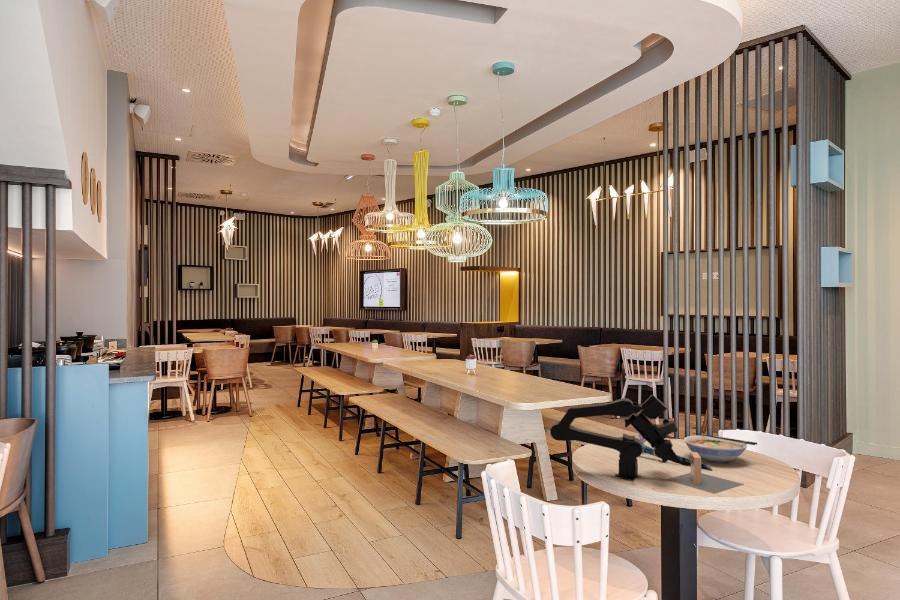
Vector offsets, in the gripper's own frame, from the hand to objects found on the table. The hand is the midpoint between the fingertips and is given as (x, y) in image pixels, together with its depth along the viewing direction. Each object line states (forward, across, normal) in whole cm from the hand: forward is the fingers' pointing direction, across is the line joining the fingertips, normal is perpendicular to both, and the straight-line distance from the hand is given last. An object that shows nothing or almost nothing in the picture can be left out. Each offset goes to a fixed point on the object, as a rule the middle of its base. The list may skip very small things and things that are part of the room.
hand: (679, 462), depth 195 cm
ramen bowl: (+17, +34, -7) cm, 39 cm away
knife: (+5, +24, +5) cm, 25 cm away
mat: (+10, 0, -1) cm, 10 cm away
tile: (+8, 0, +1) cm, 8 cm away
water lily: (-3, +41, +13) cm, 43 cm away
